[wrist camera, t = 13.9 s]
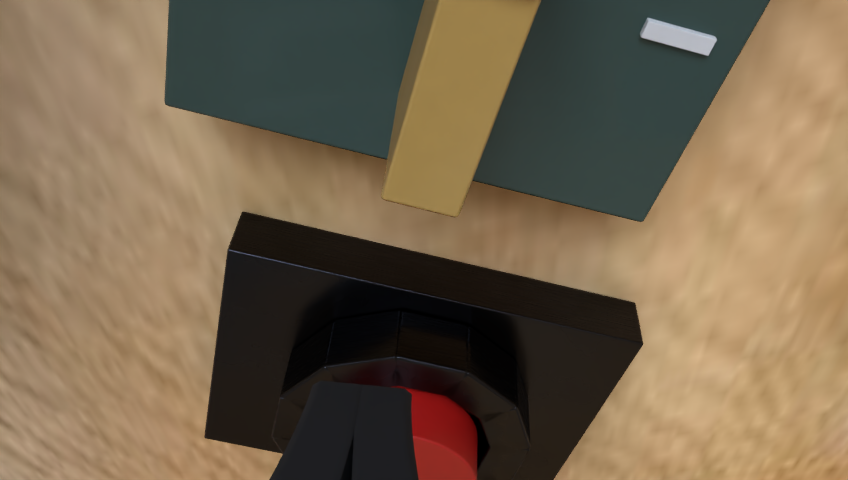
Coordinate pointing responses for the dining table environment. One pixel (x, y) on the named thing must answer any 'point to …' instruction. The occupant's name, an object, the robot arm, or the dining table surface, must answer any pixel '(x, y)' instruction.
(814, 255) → the dining table surface
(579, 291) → the switch box
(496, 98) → the dimmer knob
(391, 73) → the panel
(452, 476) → the light button
